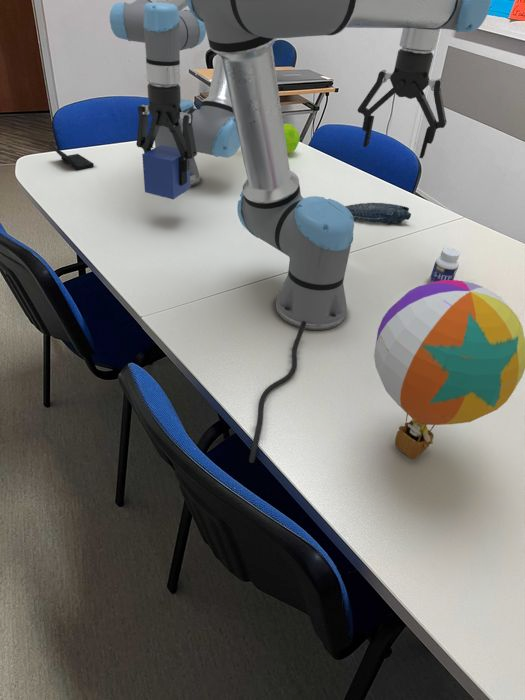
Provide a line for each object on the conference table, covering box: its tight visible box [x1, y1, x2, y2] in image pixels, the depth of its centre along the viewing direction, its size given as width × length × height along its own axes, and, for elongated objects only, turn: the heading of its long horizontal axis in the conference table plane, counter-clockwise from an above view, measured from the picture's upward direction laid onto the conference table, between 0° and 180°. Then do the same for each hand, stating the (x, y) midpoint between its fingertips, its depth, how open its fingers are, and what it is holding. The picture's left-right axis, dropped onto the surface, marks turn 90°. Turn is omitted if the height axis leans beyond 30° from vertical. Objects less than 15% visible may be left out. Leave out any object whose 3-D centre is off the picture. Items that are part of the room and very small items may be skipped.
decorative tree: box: [283, 123, 301, 155], centre depth 187 cm, size 18×10×30 cm
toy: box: [373, 279, 525, 460], centre depth 74 cm, size 20×20×30 cm
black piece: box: [49, 143, 95, 171], centre depth 167 cm, size 12×7×10 cm
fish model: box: [344, 202, 412, 225], centre depth 150 cm, size 7×21×5 cm, turn 84°
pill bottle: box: [428, 247, 461, 284], centre depth 123 cm, size 5×5×9 cm
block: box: [141, 145, 191, 200], centre depth 132 cm, size 8×9×10 cm
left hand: (167, 179), depth 134 cm, fingers closed on block, 8 cm apart
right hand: (393, 151), depth 124 cm, fingers open, 13 cm apart
